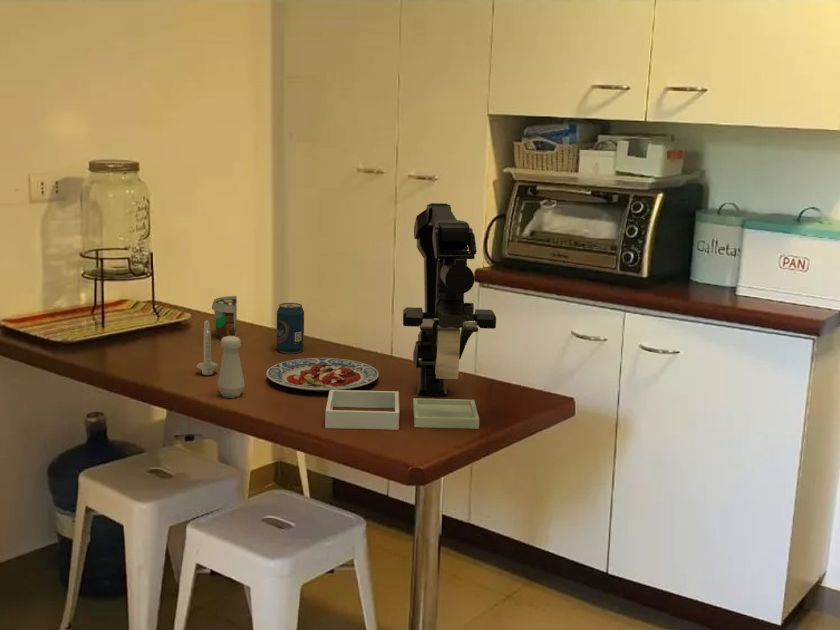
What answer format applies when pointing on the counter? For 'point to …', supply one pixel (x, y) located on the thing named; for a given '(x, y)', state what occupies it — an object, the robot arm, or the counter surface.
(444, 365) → the birch peg
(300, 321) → the soda can
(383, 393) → the frame
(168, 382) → the counter surface
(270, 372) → the ceramic plate
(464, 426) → the tray
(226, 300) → the food container
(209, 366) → the screw
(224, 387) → the salt shaker
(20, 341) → the counter surface
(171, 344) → the counter surface
